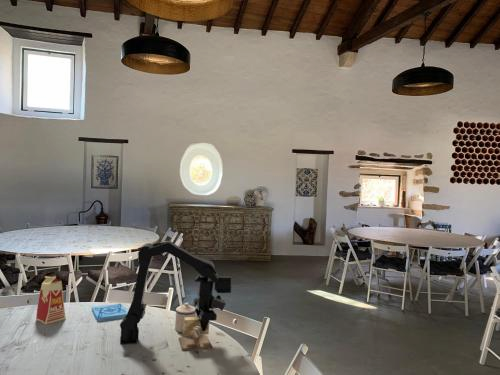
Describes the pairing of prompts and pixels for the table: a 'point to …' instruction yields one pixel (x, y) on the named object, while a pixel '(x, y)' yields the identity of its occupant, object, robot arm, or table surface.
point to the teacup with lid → (183, 315)
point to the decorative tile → (109, 312)
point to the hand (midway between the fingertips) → (203, 329)
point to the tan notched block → (190, 323)
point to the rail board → (194, 342)
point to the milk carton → (51, 301)
